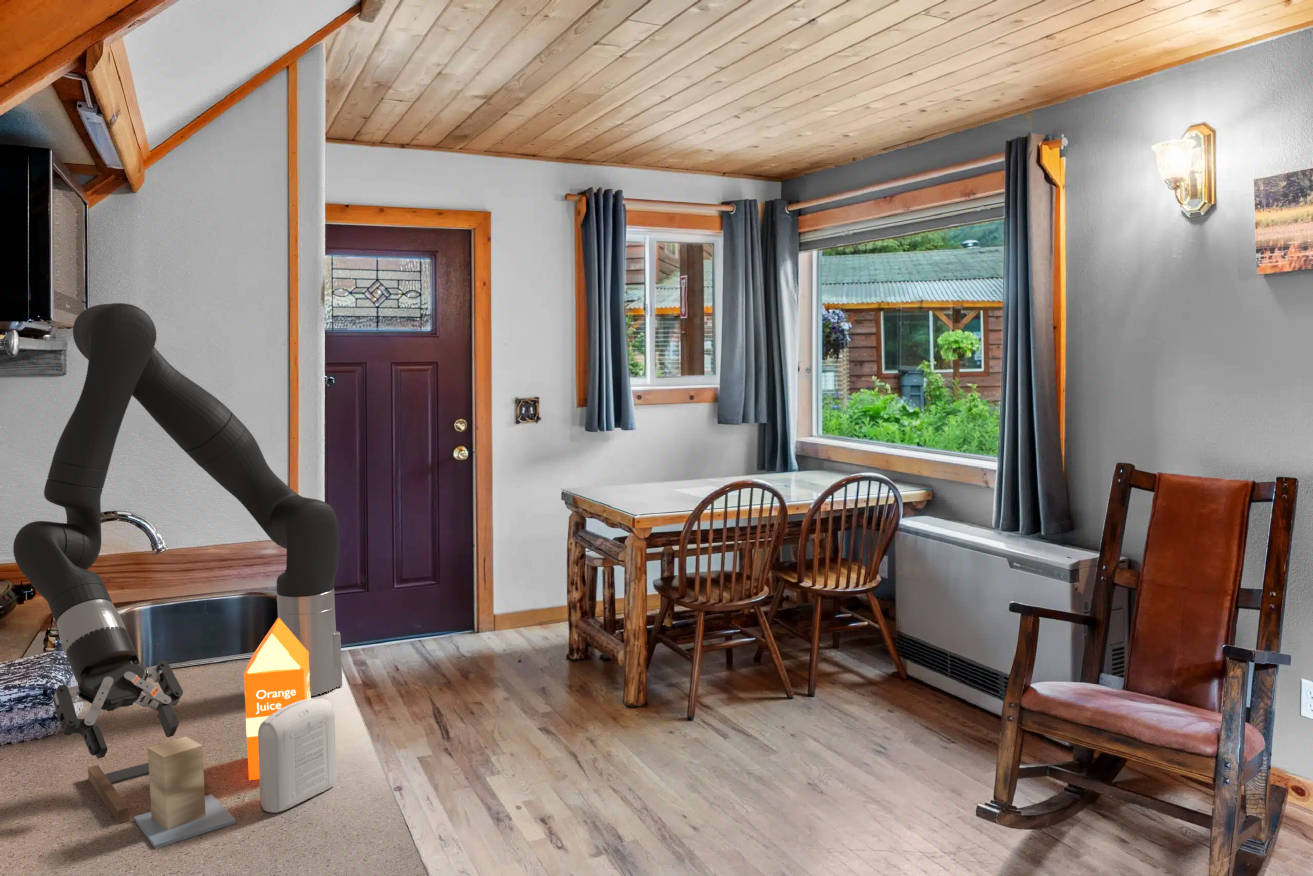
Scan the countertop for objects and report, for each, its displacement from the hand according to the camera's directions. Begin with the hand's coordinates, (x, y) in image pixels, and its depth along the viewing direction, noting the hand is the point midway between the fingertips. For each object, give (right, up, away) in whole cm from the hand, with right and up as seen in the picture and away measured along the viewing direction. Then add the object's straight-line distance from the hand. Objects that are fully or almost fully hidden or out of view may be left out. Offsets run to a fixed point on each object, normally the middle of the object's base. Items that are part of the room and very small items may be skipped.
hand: (138, 744), depth 122 cm
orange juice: (+14, -6, +11) cm, 19 cm away
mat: (+9, -8, -6) cm, 13 cm away
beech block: (+8, -7, -6) cm, 12 cm away
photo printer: (+21, -7, 0) cm, 22 cm away
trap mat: (-5, -7, +8) cm, 11 cm away
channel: (-1, -7, +3) cm, 8 cm away
